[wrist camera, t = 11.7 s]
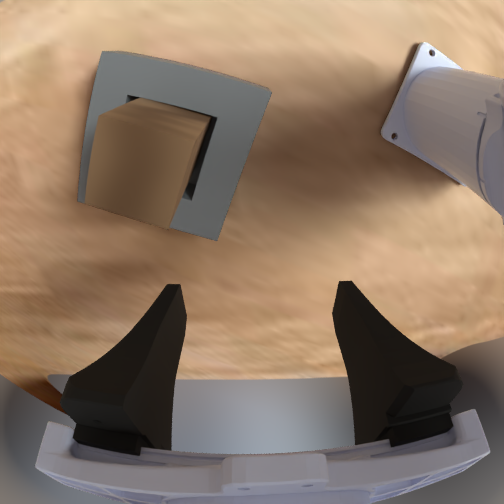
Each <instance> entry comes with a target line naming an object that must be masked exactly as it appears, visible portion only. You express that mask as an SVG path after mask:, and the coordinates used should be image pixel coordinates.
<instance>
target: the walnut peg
mask: <svg viewBox="0 0 504 504" xmlns="http://www.w3.org/2000/svg"><path fill="white" fill-rule="evenodd" d="M212 117H213V116H211V115H208V114H204V113H201V112H197V111H194V110H190V109H186V108H182V107H178V106H175V105H171V104H167V103H162V102H158V101H154V100H150V99H145V98H141V97H140V98H138V99H135V100H133V101H131V102H128V103H126V104H123V105H121V106H119V107H116V108H114V109H112V110H110V111H107V112H105V113H103V114H101V115H99V116H98V121H97V126H96V130H95V136H94V141H93V146H92V152H91V158H90V165H89V171H88V178H87V186H86V194H85V203H84V204H87V205H90V206H93V207H96V208H100V209H103V210H106V211H109V212H112V213H115V214H119V215H122V216H125V217H128V218H131V219H135V220H138V221H141V222H144V223H147V224H150V225H154V226H157V227H160V228H163V229H166V230H168V229H169V227H170V224H171V222H172V219H173V217H174V215H175V212H176V210H177V208H178V205H179V203H180V201H181V198H182V196H183V194H184V191H185V189H186V187H187V185H188V182H189V180H190V178H191V176H192V173H193V171H194V169H195V166H196V163H197V160H198V157H199V154H200V151H201V148H202V145H203V142H204V140H205V137H206V134H207V131H208V128H209V125H210V123H211V120H212Z"/></svg>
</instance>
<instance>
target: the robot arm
mask: <svg viewBox="0 0 504 504" xmlns="http://www.w3.org/2000/svg"><path fill="white" fill-rule="evenodd" d="M430 50H431V51H432V56H431V55H430V54H429V51H430ZM393 133H395V134H396V137H395V138H394V139H392V137H391V136H392V134H393ZM381 135H382V137H383V138H384V139H386V140H388V141H389V142H391V143H393V144H395V145H397V146H399V147H401V148H402V149H404V150H406V151H408V152H410V153H411V154H413V155H415V156H417V157H418V158H420V159H422V160H423V161H425V162H427V163H429V164H430V165H432V166H433V167H435V168H437V169H438V170H440V171H442V172H443V173H445V174H446V175H448V176H449V177H451V178H453V179H454V180H456V181H457V182H459V183H460V184H462V185H463V186H465V187H466V186H467V187H468V188H470V189H471V190H472V191H473V192H475V193H476V194H477V195H478V196H479V197H481V198H482V199H483V200H484V201H485V202H487V203H488V204H489V205H490V206H491V207H492V208H494V209H495V210H496V211H497V212H498V213H499V214H500V215H501V216H502V219H503V225H504V79H502V78H498V77H494V76H490V75H485V74H481V73H476V72H471V71H467V70H463V69H462V68H460V67H459V66H458V65H457V64H455V63H454V62H453V61H452V60H450V59H449V58H448V57H446V56H445V55H444V54H442V53H441V52H440V51H438V50H437V49H436V48H434V47H433V46H431V45H430V44H429V43H426V42H422V43H420V44H419V46H418V48H417V50H416V53H415V55H414V58H413V60H412V62H411V65H410V67H409V69H408V72H407V74H406V76H405V79H404V81H403V83H402V85H401V88H400V90H399V92H398V94H397V97H396V99H395V101H394V103H393V105H392V108H391V110H390V112H389V114H388V116H387V118H386V121H385V123H384V125H383V127H382V129H381ZM332 315H333V321H334V327H335V333H336V336H337V339H338V343H339V346H340V350H341V353H342V357H343V360H344V363H345V367H346V370H347V375H348V379H349V386H350V392H351V400H352V408H353V419H354V432H355V445H353V446H347V447H340V448H333V449H324V450H315V451H305V452H293V453H275V454H207V453H191V452H179V451H171V437H172V436H171V433H172V411H173V397H174V385H175V379H176V373H177V369H178V364H179V360H180V355H181V351H182V346H183V342H184V337H185V330H186V320H187V314H186V310H185V305H184V300H183V295H182V290H181V285H180V284H167V285H166V286H165V288H164V289H163V291H162V292H161V293H160V295H159V296H158V298H157V299H156V300H155V302H154V303H153V304H152V306H151V307H150V308H149V310H148V311H147V312H146V313H145V315H144V316H143V317H142V318H141V319H140V321H139V322H138V323H137V324H136V325H135V326H134V328H133V329H132V330H131V331H130V332H129V333H128V334H127V335H126V336H125V337H124V338H123V339H122V340H121V341H120V342H119V343H118V344H117V345H116V346H114V347H113V348H112V349H111V350H110V351H108V352H107V353H106V354H105V355H103V356H102V357H101V358H99V359H98V360H97V361H95V362H94V363H92V364H91V365H89V366H88V367H86V368H84V369H83V370H81V371H79V372H77V373H76V374H74V375H72V376H70V377H69V379H68V381H67V384H66V386H65V389H64V392H63V395H62V398H61V401H60V404H61V407H62V408H63V410H64V411H65V412H66V413H67V414H68V415H69V416H70V417H71V418H72V419H73V420H74V421H75V422H76V423H77V424H76V427H75V429H73V428H71V427H69V426H66V425H62V424H58V423H55V422H51V421H50V422H48V424H47V427H46V430H45V434H44V437H43V440H42V444H41V447H40V450H39V454H38V457H37V461H36V465H35V467H36V468H37V469H38V470H40V471H42V472H43V473H45V474H46V475H48V476H50V477H51V478H53V479H55V480H57V481H58V482H60V483H62V484H64V485H66V486H69V487H72V488H75V489H79V490H82V491H85V492H88V493H91V494H95V495H98V496H101V497H105V498H109V499H112V500H116V501H120V502H123V503H127V504H370V503H373V502H377V501H380V500H384V499H387V498H391V497H394V496H397V495H400V494H403V493H407V492H410V491H412V490H415V489H418V488H421V487H424V486H427V485H429V484H432V483H435V482H437V481H440V480H443V479H445V478H448V477H450V476H453V475H455V474H458V473H460V472H462V471H464V470H465V469H467V468H468V467H470V466H471V465H473V464H475V463H476V462H477V461H479V460H480V459H482V458H483V457H485V456H486V455H487V454H489V453H490V449H489V446H488V443H487V440H486V437H485V434H484V431H483V429H482V426H481V423H480V421H479V418H478V416H477V413H476V410H475V409H472V410H469V411H466V412H463V413H460V414H457V415H455V416H453V417H452V418H451V417H450V414H449V412H451V406H450V404H449V403H450V402H451V401H452V400H453V399H454V398H455V396H456V395H457V394H458V393H459V392H460V390H461V388H462V385H463V382H462V380H461V377H460V375H459V373H458V371H457V369H456V367H455V366H454V365H452V364H450V363H448V362H446V361H444V360H441V359H439V358H438V357H436V356H434V355H432V354H431V353H429V352H427V351H426V350H424V349H423V348H421V347H420V346H418V345H417V344H415V343H414V342H412V341H411V340H410V339H408V338H407V337H406V336H405V335H403V334H402V333H401V332H400V331H399V330H397V329H396V328H395V327H394V326H393V325H392V324H391V323H390V322H389V321H388V320H387V319H385V318H384V317H383V316H382V315H381V314H380V312H379V311H378V310H377V309H376V308H375V307H374V306H373V305H372V304H371V303H370V302H369V300H368V299H367V298H366V297H365V296H364V295H363V293H362V292H361V291H360V290H359V289H358V288H357V287H356V285H355V284H354V283H353V282H352V281H339V284H338V289H337V293H336V298H335V303H334V307H333V312H332Z"/></svg>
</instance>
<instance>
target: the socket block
mask: <svg viewBox="0 0 504 504" xmlns="http://www.w3.org/2000/svg"><path fill="white" fill-rule="evenodd" d="M271 94H272V92H271V91H270V89H269V88H266V87H264V86H261V85H258V84H255V83H252V82H249V81H245V80H242V79H239V78H236V77H233V76H229V75H226V74H222V73H219V72H215V71H212V70H208V69H204V68H200V67H197V66H193V65H189V64H184V63H180V62H176V61H171V60H167V59H162V58H157V57H152V56H147V55H141V54H136V53H130V52H124V51H102V53H101V57H100V61H99V65H98V69H97V73H96V77H95V82H94V86H93V91H92V95H91V100H90V106H89V111H88V116H87V122H86V128H85V135H84V142H83V149H82V157H81V165H80V175H79V186H78V199H77V201H78V202H81V203H85V194H86V186H87V178H88V171H89V165H90V158H91V152H92V146H93V141H94V136H95V130H96V126H97V121H98V116H99V115H101V114H103V113H105V112H107V111H110V110H112V109H114V108H116V107H119V106H121V105H123V104H126V103H128V102H131V101H133V100H135V99H138V98H140V97H141V98H145V99H150V100H154V101H158V102H162V103H167V104H171V105H175V106H178V107H182V108H186V109H190V110H194V111H197V112H201V113H204V114H208V115H211V116H213V117H212V120H211V123H210V125H209V128H208V131H207V134H206V137H205V140H204V142H203V145H202V148H201V151H200V154H199V157H198V160H197V163H196V166H195V169H194V171H193V173H192V176H191V178H190V180H189V182H188V185H187V187H186V189H185V191H184V194H183V196H182V198H181V201H180V203H179V205H178V208H177V210H176V212H175V215H174V217H173V219H172V222H171V224H170V227H169V228H173V229H176V230H180V231H183V232H187V233H190V234H194V235H197V236H201V237H204V238H208V239H211V240H215V241H217V240H218V237H219V234H220V232H221V229H222V226H223V223H224V220H225V217H226V214H227V212H228V209H229V206H230V203H231V200H232V198H233V195H234V192H235V189H236V187H237V184H238V181H239V178H240V176H241V173H242V170H243V167H244V165H245V162H246V159H247V157H248V154H249V151H250V149H251V146H252V143H253V141H254V138H255V135H256V133H257V130H258V128H259V125H260V122H261V120H262V117H263V115H264V112H265V109H266V107H267V104H268V102H269V99H270V97H271Z"/></svg>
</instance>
